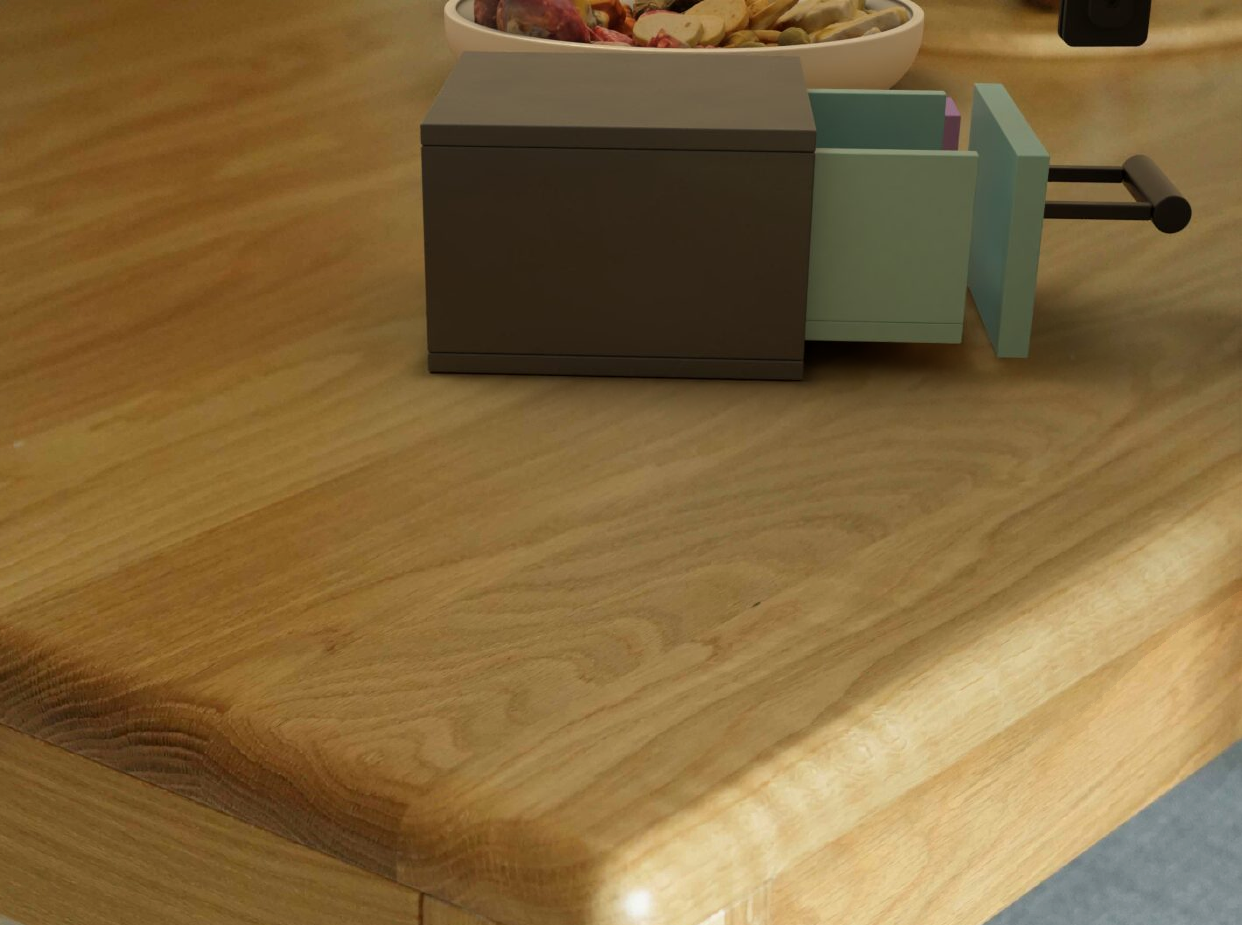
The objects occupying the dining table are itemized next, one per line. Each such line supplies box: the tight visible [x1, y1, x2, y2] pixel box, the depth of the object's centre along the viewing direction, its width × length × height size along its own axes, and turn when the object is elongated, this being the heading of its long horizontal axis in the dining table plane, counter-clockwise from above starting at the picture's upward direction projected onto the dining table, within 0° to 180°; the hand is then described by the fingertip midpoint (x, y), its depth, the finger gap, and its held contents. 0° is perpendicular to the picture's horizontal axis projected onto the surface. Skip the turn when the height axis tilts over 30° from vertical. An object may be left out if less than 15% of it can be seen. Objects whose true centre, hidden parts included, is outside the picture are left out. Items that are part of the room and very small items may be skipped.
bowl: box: [443, 0, 925, 90], centre depth 126 cm, size 30×30×8 cm
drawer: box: [805, 82, 1193, 359], centre depth 81 cm, size 20×13×8 cm
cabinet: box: [419, 51, 817, 381], centre depth 82 cm, size 15×15×10 cm
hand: (1101, 42), depth 78 cm, fingers closed
